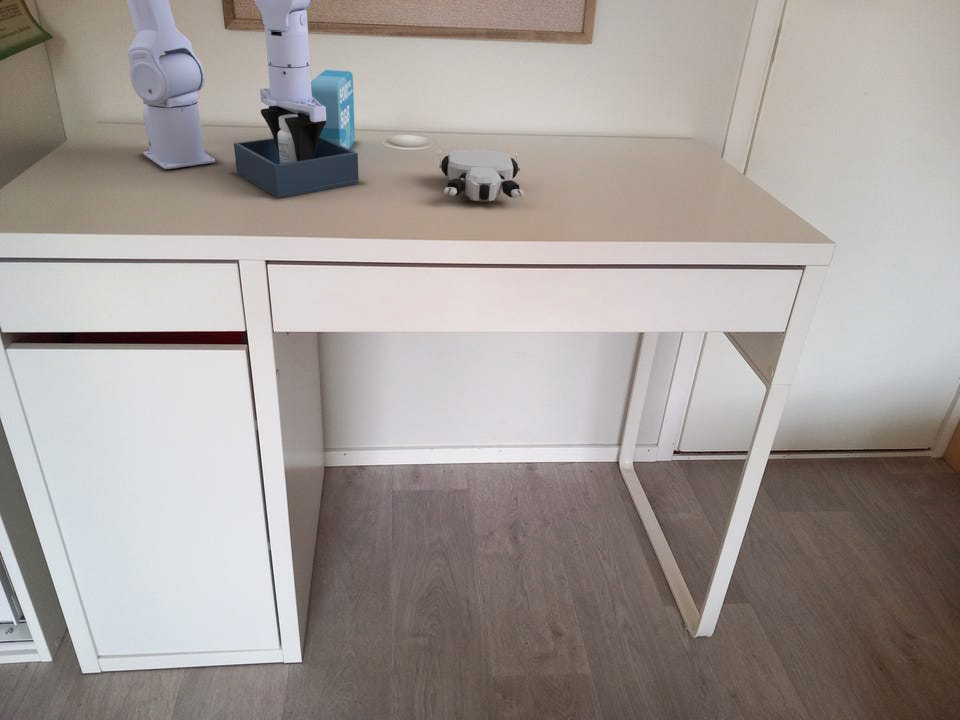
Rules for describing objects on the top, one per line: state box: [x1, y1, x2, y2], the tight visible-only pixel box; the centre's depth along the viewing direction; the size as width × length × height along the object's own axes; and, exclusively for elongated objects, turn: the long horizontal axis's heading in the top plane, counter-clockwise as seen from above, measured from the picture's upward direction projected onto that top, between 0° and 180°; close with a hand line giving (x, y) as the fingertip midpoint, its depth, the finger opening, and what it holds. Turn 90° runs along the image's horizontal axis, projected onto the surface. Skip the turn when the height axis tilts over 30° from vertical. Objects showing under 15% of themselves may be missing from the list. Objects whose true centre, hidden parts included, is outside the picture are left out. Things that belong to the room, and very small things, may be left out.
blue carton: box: [311, 69, 356, 149], centre depth 122 cm, size 12×4×12 cm, turn 178°
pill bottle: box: [278, 114, 298, 164], centre depth 108 cm, size 5×5×8 cm
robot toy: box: [438, 148, 525, 203], centre depth 109 cm, size 12×4×15 cm
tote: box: [233, 136, 360, 199], centre depth 109 cm, size 13×13×5 cm
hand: (296, 161), depth 109 cm, fingers closed on pill bottle, 5 cm apart
